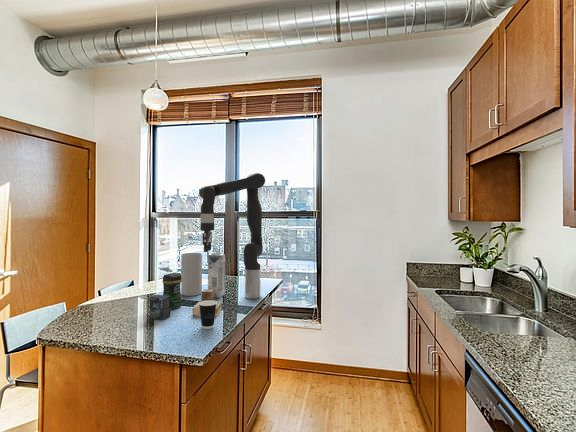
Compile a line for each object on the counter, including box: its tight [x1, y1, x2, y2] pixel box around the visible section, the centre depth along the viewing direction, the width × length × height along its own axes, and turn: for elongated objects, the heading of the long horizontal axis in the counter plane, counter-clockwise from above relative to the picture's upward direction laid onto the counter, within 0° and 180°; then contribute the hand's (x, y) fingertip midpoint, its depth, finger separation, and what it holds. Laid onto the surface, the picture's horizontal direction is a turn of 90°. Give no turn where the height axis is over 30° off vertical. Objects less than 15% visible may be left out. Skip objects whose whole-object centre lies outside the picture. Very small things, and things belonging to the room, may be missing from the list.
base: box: [192, 300, 223, 317], centre depth 168 cm, size 12×12×4 cm
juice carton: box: [207, 251, 226, 299], centre depth 200 cm, size 9×10×27 cm
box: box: [149, 294, 171, 321], centre depth 159 cm, size 8×6×11 cm
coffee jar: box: [162, 272, 182, 311], centre depth 176 cm, size 10×8×19 cm
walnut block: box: [201, 288, 215, 301], centre depth 168 cm, size 5×5×7 cm
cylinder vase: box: [180, 252, 203, 297], centre depth 206 cm, size 12×12×25 cm
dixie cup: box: [198, 300, 217, 330], centre depth 147 cm, size 8×8×11 cm
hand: (207, 251), depth 182 cm, fingers open, 8 cm apart
